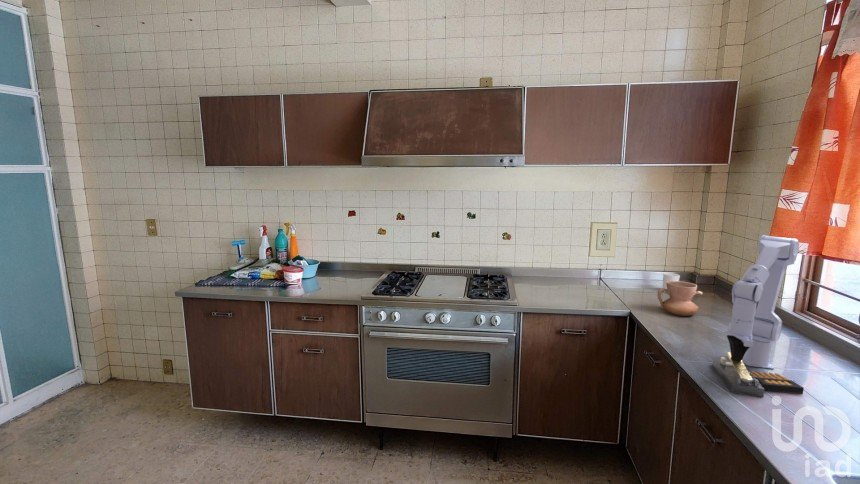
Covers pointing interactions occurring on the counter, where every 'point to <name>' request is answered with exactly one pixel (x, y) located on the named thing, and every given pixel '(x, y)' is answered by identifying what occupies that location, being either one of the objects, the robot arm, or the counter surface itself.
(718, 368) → the block
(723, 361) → the lug
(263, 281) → the counter surface
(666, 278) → the white cup
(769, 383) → the ammunition clip
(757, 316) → the robot arm
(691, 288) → the ceramic jug
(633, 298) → the counter surface
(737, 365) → the tan long flat bar
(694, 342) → the counter surface
